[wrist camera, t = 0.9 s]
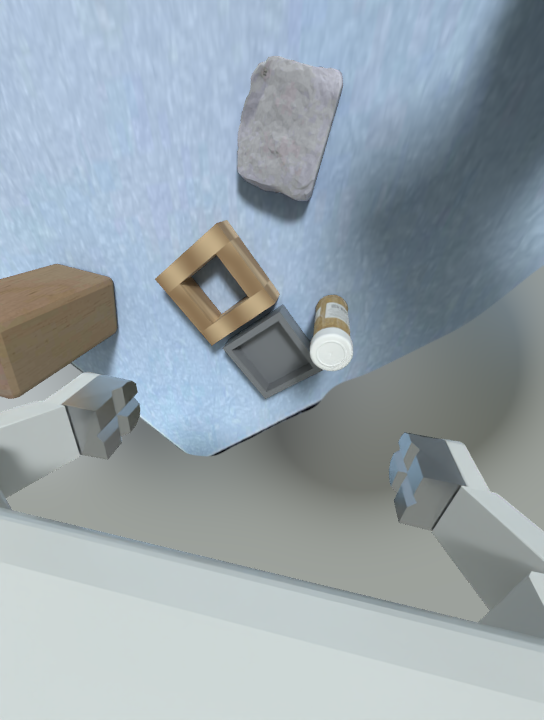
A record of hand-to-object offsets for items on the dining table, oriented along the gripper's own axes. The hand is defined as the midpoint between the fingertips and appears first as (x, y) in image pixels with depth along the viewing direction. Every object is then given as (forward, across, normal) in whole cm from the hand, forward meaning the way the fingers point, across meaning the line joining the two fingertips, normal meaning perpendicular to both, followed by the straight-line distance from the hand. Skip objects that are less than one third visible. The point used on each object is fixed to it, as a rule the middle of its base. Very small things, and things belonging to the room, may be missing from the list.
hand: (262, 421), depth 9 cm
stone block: (+35, +5, -11) cm, 37 cm away
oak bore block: (+35, +12, +7) cm, 38 cm away
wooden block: (+36, +35, +13) cm, 52 cm away
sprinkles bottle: (+35, -4, +8) cm, 36 cm away
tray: (+35, +3, +16) cm, 39 cm away
